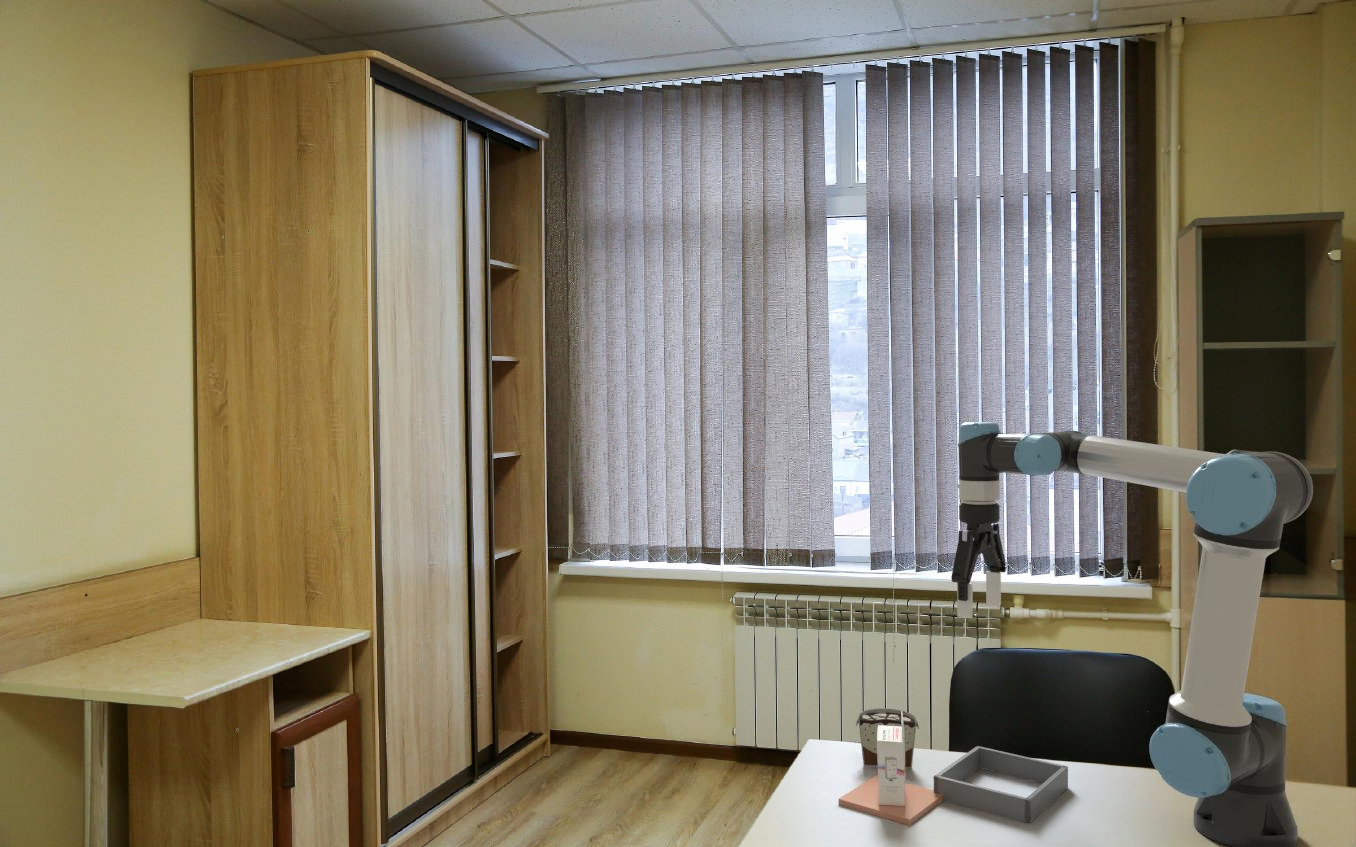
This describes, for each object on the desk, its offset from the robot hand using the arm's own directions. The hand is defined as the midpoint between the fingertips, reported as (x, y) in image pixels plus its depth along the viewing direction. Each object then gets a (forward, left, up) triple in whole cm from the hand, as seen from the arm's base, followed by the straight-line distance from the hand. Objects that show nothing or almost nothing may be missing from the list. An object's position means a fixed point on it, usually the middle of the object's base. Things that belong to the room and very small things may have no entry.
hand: (979, 610), depth 191 cm
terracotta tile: (+7, +23, -32) cm, 40 cm away
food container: (+17, +6, -32) cm, 37 cm away
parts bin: (-7, +7, -32) cm, 33 cm away
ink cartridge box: (+7, +23, -31) cm, 39 cm away
